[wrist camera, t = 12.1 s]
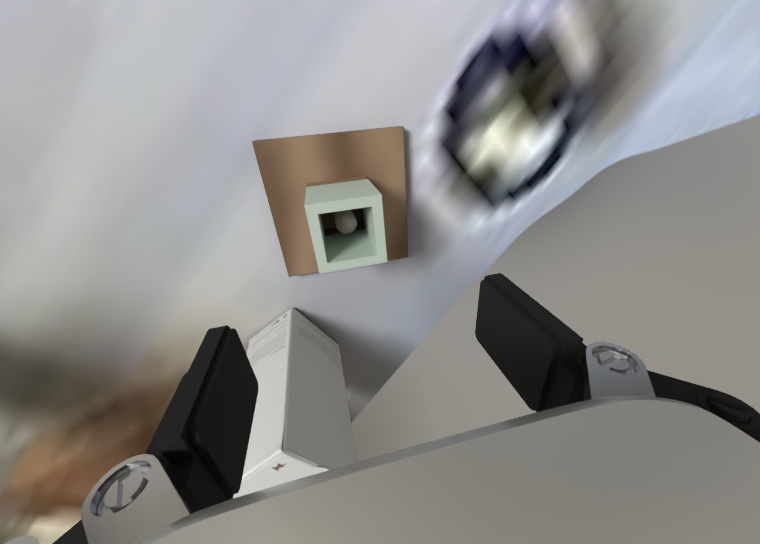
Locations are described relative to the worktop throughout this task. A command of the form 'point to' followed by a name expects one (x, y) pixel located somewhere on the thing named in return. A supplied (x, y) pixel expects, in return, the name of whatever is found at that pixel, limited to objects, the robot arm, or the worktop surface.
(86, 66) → the worktop surface
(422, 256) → the worktop surface
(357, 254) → the sleeve
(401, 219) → the pin board
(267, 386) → the skincare box
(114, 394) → the worktop surface
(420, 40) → the worktop surface
